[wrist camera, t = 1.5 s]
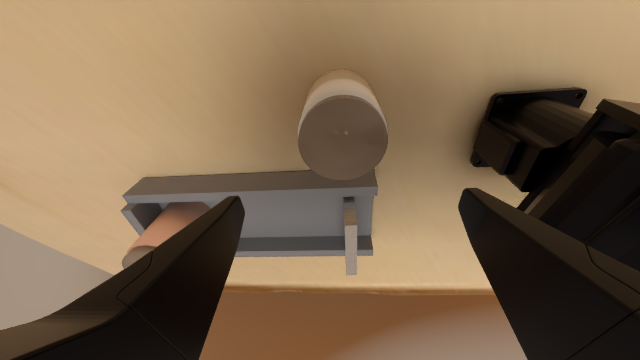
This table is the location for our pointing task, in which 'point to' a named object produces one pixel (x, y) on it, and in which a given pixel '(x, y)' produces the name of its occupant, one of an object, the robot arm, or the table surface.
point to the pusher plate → (350, 235)
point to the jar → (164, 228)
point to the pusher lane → (268, 209)
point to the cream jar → (342, 127)
